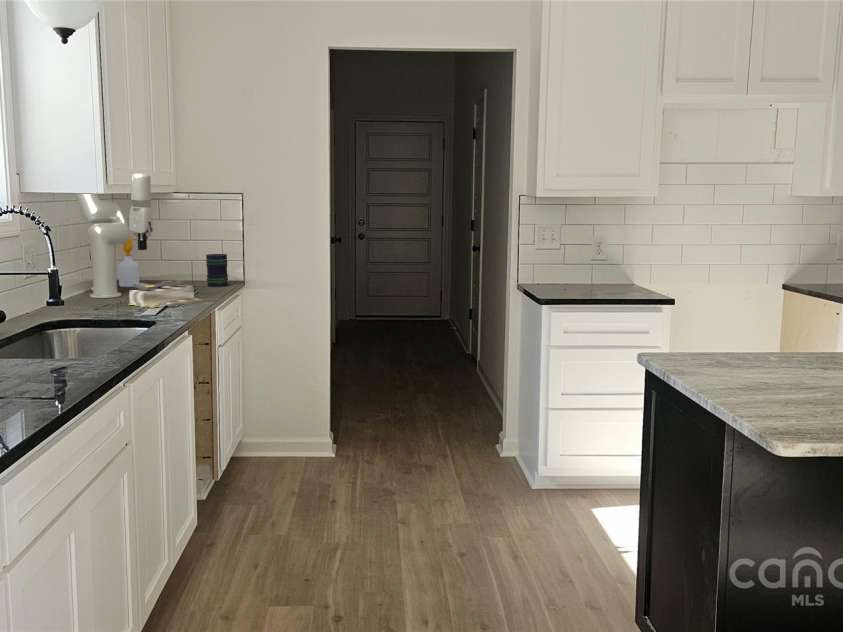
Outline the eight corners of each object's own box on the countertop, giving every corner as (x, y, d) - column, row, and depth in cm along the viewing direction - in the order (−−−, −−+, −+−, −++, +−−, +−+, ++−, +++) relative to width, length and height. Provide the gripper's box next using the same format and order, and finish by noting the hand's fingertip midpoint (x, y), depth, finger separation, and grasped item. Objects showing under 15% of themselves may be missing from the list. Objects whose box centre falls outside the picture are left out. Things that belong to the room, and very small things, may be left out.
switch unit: (128, 305, 343) (127, 290, 342) (180, 299, 362) (179, 284, 361) (151, 308, 334) (150, 293, 333) (203, 301, 353) (202, 287, 352)
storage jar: (232, 285, 410) (231, 254, 408) (215, 287, 402) (214, 255, 400) (219, 284, 416) (218, 253, 414) (202, 286, 409) (201, 254, 407)
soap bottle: (138, 284, 415) (135, 233, 411) (140, 286, 407) (137, 234, 403) (118, 285, 411) (116, 234, 408) (120, 287, 403) (117, 235, 399)
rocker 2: (167, 285, 356) (166, 282, 356) (176, 284, 359) (175, 281, 359) (180, 283, 350) (180, 280, 350) (189, 282, 354) (188, 279, 353)
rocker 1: (133, 286, 343) (133, 283, 343) (142, 285, 347) (142, 282, 346) (146, 290, 338) (146, 286, 338) (156, 289, 341) (156, 285, 341)
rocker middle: (151, 288, 349) (150, 285, 349) (160, 287, 353) (159, 284, 353) (163, 284, 344) (163, 281, 344) (173, 283, 347) (172, 280, 347)
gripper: (121, 203, 347) (123, 248, 350) (144, 205, 338) (145, 252, 341) (137, 203, 353) (138, 247, 356) (160, 205, 344) (161, 250, 347)
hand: (142, 249), depth 349 cm, fingers closed
